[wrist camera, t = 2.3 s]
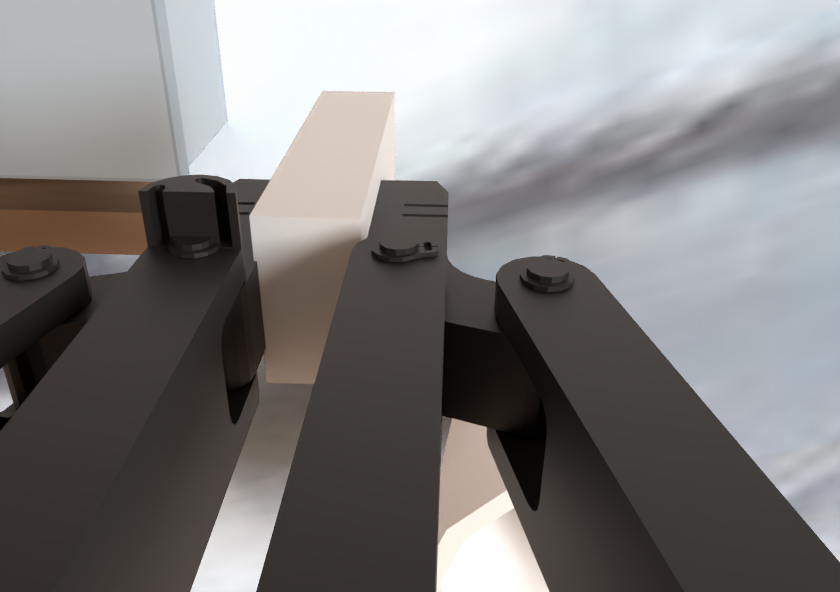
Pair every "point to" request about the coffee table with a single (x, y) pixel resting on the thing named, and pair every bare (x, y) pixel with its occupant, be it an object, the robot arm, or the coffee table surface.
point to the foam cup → (479, 522)
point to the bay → (72, 215)
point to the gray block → (107, 88)
